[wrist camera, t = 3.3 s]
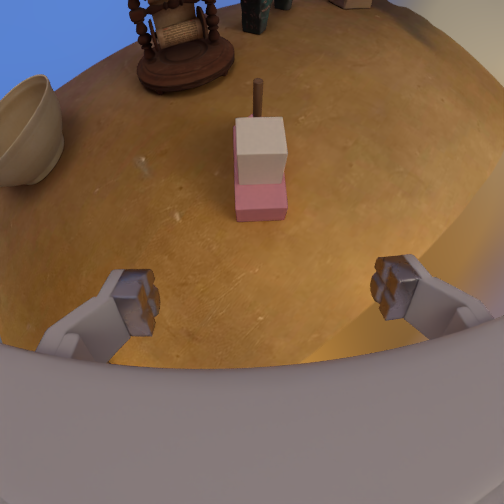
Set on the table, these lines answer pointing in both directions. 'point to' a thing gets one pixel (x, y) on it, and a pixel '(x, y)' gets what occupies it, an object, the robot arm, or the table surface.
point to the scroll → (180, 45)
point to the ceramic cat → (259, 13)
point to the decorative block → (352, 3)
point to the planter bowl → (29, 132)
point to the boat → (259, 164)
